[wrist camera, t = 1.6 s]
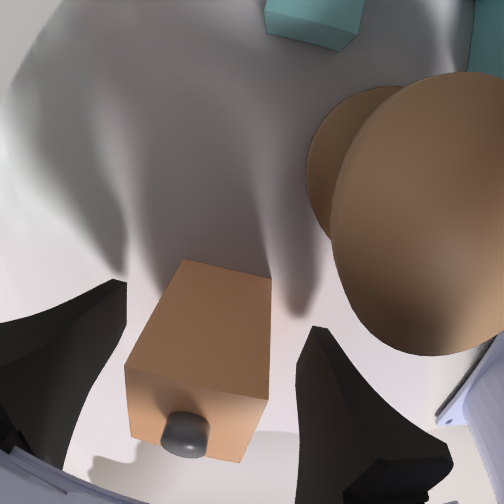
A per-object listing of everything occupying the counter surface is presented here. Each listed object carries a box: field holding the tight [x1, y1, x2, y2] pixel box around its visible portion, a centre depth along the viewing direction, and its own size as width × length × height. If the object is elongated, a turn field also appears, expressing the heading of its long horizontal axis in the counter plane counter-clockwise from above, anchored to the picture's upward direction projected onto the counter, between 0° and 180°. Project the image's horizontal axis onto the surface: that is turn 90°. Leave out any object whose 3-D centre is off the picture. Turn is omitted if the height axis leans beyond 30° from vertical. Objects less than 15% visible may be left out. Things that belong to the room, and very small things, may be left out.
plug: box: [124, 259, 272, 463], centre depth 10 cm, size 4×4×7 cm
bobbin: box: [306, 71, 504, 356], centre depth 8 cm, size 6×6×6 cm
